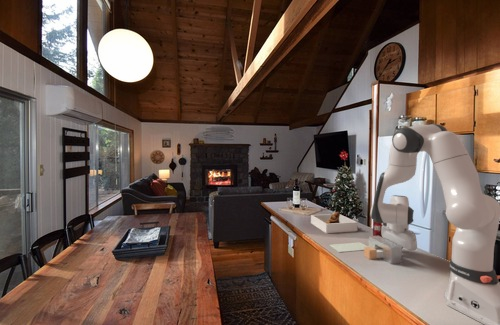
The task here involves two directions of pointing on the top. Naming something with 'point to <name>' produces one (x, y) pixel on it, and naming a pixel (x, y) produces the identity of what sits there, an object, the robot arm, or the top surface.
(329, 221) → the bear figurine
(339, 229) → the white shallow square tray
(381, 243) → the notched metal block
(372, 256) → the plug
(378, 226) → the soda can
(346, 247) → the pad
